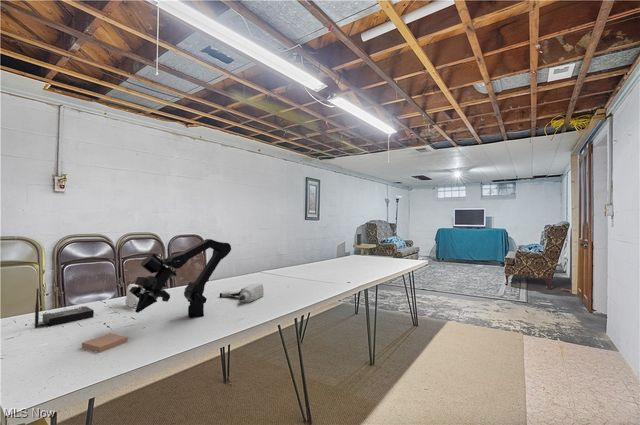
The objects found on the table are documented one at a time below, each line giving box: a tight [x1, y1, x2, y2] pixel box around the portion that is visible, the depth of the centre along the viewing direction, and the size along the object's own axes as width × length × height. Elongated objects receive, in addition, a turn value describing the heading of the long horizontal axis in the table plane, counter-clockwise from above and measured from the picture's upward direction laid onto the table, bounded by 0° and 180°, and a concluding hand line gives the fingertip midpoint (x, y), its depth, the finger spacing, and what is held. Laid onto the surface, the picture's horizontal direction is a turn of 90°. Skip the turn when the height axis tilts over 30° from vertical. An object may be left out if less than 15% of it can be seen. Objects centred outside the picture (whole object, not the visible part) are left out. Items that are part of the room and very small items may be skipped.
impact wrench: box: [219, 282, 264, 303], centre depth 176 cm, size 8×23×25 cm
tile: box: [81, 332, 129, 353], centre depth 111 cm, size 2×10×10 cm
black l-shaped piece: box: [34, 288, 95, 329], centre depth 138 cm, size 20×14×17 cm
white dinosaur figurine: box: [124, 282, 139, 308], centre depth 161 cm, size 7×24×11 cm, turn 44°
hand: (136, 312), depth 123 cm, fingers closed
